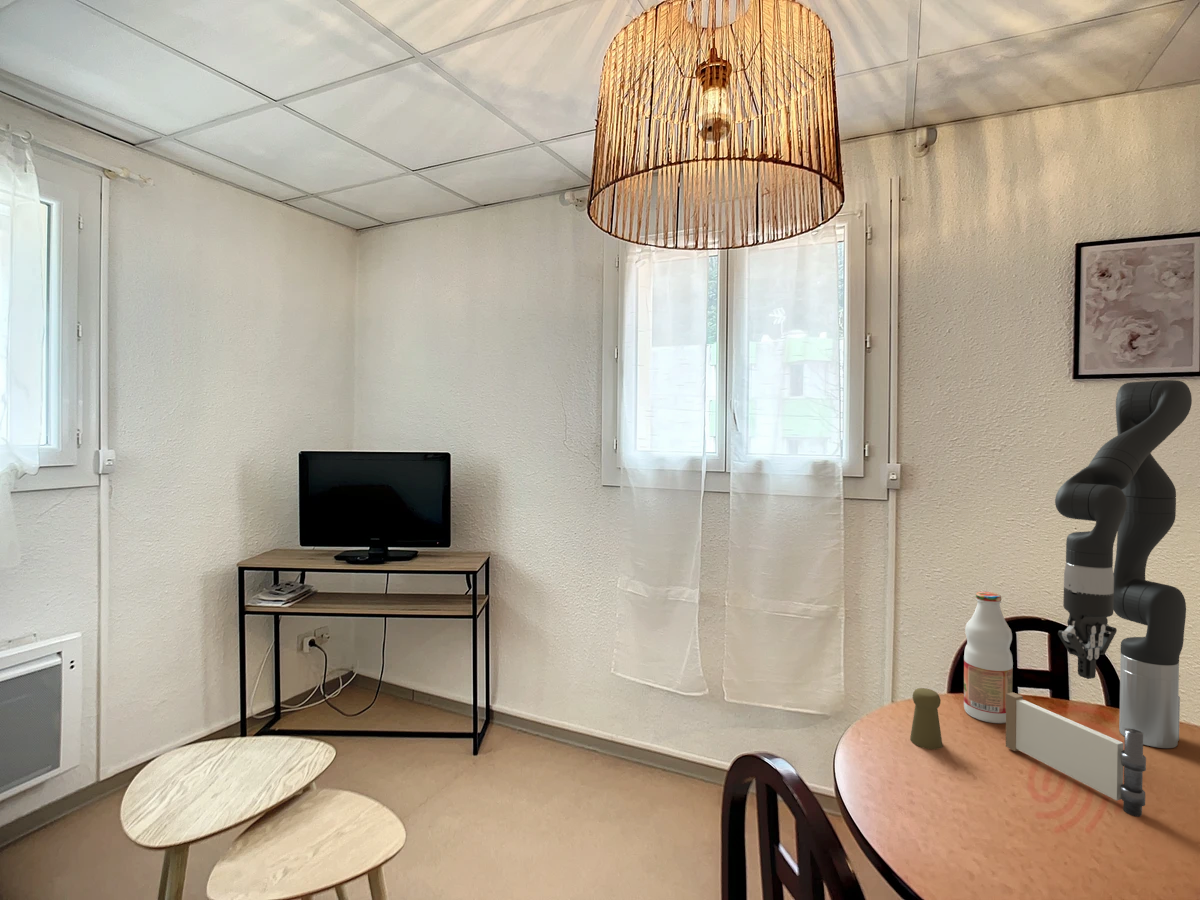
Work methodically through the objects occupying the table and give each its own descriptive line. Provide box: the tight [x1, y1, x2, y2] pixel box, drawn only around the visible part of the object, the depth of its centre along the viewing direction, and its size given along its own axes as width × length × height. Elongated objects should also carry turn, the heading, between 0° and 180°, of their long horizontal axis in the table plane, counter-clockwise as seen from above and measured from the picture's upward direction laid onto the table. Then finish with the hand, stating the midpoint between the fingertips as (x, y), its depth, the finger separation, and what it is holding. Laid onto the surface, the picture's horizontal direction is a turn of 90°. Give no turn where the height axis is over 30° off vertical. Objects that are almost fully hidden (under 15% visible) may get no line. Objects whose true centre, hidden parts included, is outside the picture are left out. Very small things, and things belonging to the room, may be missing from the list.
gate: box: [1005, 691, 1124, 801], centre depth 117 cm, size 20×2×11 cm, turn 18°
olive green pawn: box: [909, 687, 943, 750], centre depth 130 cm, size 6×6×11 cm
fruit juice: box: [963, 591, 1014, 724], centre depth 141 cm, size 9×9×28 cm
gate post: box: [1121, 729, 1147, 818], centre depth 105 cm, size 3×3×14 cm
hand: (1086, 676), depth 118 cm, fingers closed
